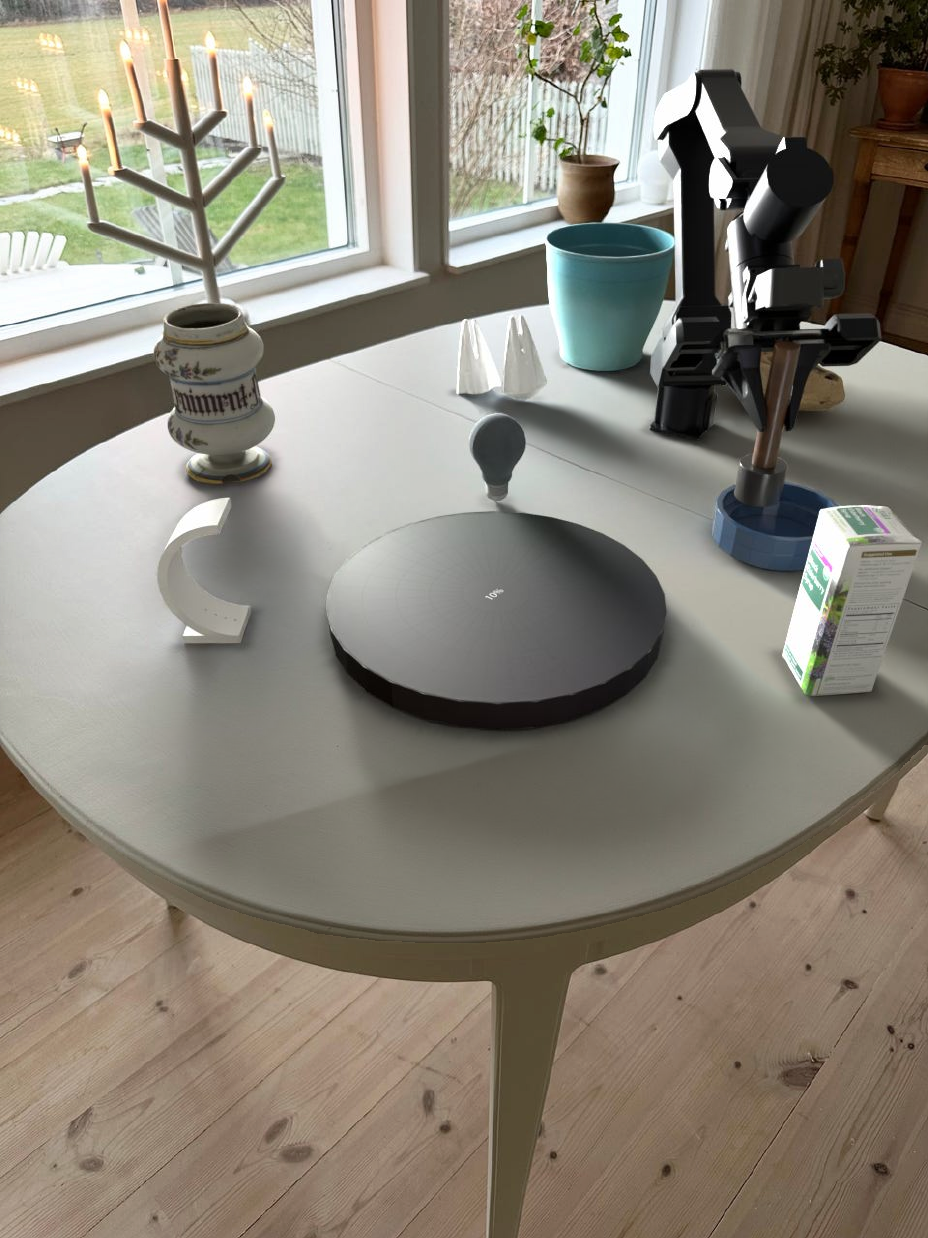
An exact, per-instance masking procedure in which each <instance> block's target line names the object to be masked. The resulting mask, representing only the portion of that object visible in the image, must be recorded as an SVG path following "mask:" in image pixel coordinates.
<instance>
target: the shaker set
mask: <svg viewBox="0 0 928 1238" xmlns="http://www.w3.org/2000/svg"><path fill="white" fill-rule="evenodd" d="M518 320H519V321H518V322H519V329H518V325H517V319H516V316H515V315H510V316H509V319H508V325H507V331H506V339H505V350H504V357H503V361H504V362H503V371H502V381H501V379H500V375H499V373H498V372H499V371H497V367H496V365H495V363H494V360H493V358H492V354H491V352H490V349H489V347H488V344H487V342H486V340H485V336H484V334H483V332H482V330H481V328H480V325H479V323H478V321H477V320H476V319H475V318H472V320H471V325H472V331H473V337H474V346H473V340H472V339H473V338H472V334H471V329H470V324H469V320H468V319H467V318H466V319H463V320H462V323H461V331H460V338H459V339H460V340H459V350H458V366H457V383H456V394H457V395H459V394H468V395H481V394H484V393H488V392H490V391H492V389H494V388H495V387H501V393H502V394H505V395H508V396H510V397H513V398H514V399H516V400H518V401H527V400H531V399H533V398H534V397H536V395H538V394H539V393H540V392H541V391H542V389H543V388H544V387H545V386H547V384H548V379H547V376H546V374H545V371H544V368H543V365H542V362H541V358H540V355H539V353H538V351H537V348H536V345H535V341H534V339H533V337H532V334H531V330H530V328H529V325H528V324H527V320H526V319H525V317H524V316H523V315H521V314H520V315H519V318H518Z"/></svg>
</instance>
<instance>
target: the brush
mask: <svg viewBox="0 0 928 1238" xmlns="http://www.w3.org/2000/svg"><path fill="white" fill-rule="evenodd" d="M800 348H801V346H800V345H799V344H797V343H795V342H790V341H780V342H776V343H775V345H774V350H773V355H772V361H771V366H770V371H769V376H768V381H767V386H766V391H765V397H764V399H765V405H766V413H767V428H766V430H765V431H764V432H759V431H758V430H757V433H756V438H755V443H754V448H753V453H749V454H746V455H744V456H742V457H741V458H740V459H739V464H738V469H737V470H738V471H737V475H736V479H735V484H736V485H735V484H734V485H735V490H734V495H735V497H736V498H737V499H738V500H739V501H741V502H742V503H745V504H747V505H751V506H757V507H768V506H773V505H775V504H777V503H778V502H779V501H780V499H781V495H782V490H783V486H784V481H785V482H786V477H787V472H788V464H787V462H786V461H785V460H784V459H782V458H780V457H778V456H779V452H780V451H779V450H780V446H781V443H782V437H783V432H784V429H785V425H784V423H785V419H786V414H787V409H788V404H789V400H790V395H791V390H792V385H793V381H794V376H795V371H796V367H797V362H798V357H799V352H800Z"/></svg>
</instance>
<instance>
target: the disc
mask: <svg viewBox="0 0 928 1238" xmlns="http://www.w3.org/2000/svg"><path fill="white" fill-rule="evenodd" d="M666 601H667V600H666V594H665V591H664V588H663V587H662V585H661V583H660V581H659V578H658V576H657V575H656V574H655V573H654V571H653V570H652V569H651V568H650V566H649V565H648V564H647V563H646V562H645V560H644V559H642V558H641V557H640V556H639V555H637V553H635V552H634V551H632V550H631V549H630V548H629V547H627V546H626V545H624V544H623V543H622V542H619V541H617V540H615V539H614V538H612V537H610V536H608V535H606V534H605V533H603V532H600V531H597V530H595V529H592V528H589V527H588V526H585V525H582V524H579V523H577V522H573V521H569V520H568V521H567V520H565V519H560V518H557V517H553V516H548V515H541V514H534V513H526V512H520V511H519V512H518V511H517V512H516V511H496V510H491V511H490V510H488V511H487V510H486V511H467V512H466V511H465V512H459V513H452V514H445V515H438V516H437V515H436V516H434V517H430V518H425V519H421V520H418V521H414V522H410V523H408V524H405V525H403V526H400V527H397V528H395V529H391V530H390V531H387V532H384V533H383V534H381V535H379V536H378V537H376V538H374V539H372V540H370V541H369V542H367V543H365V544H364V545H362V546H361V547H360V548H359V549H358V550H356V551H355V552H354V553H353V554H351V555H350V556H349V557H347V559H346V560H345V561H344V562H343V564H341V566H340V567H339V569H338V570H337V571H336V572H335V574H334V575H333V578H332V580H331V583H330V584H329V587H328V589H327V592H326V604H325V613H326V618H327V620H328V626H329V635H330V640H331V644H332V647H333V650H334V655H335V657H336V658H337V660H338V661H339V663H340V665H341V666H342V668H343V670H344V671H345V672H346V674H347V675H348V676H349V677H350V678H351V679H352V680H353V681H354V682H355V683H356V684H358V685H359V686H360V687H361V688H362V689H363V690H364V691H365V692H366V693H367V694H369V695H371V696H372V697H374V698H376V699H377V700H379V701H380V702H382V703H385V704H386V705H388V706H390V707H391V708H393V709H396V710H398V711H401V712H403V713H407V714H409V715H411V716H414V717H416V718H419V719H422V720H425V721H430V722H433V723H439V724H443V725H447V726H452V727H458V728H464V729H465V728H466V729H477V730H478V729H479V730H490V731H491V730H492V731H503V730H520V729H537V728H542V727H545V726H550V725H555V724H561V723H566V722H571V721H574V720H576V719H579V718H581V717H583V716H584V717H585V716H587V715H590V714H592V713H595V712H598V711H601V710H602V709H604V708H606V707H608V706H610V705H611V704H613V703H614V702H615V703H616V701H618V700H620V699H622V698H623V697H625V696H627V695H628V694H629V693H630V692H631V691H632V690H633V689H635V688H636V687H637V686H638V685H639V684H640V683H641V682H642V681H643V680H644V679H646V677H647V676H648V674H649V673H650V671H651V670H652V668H653V666H654V665H655V663H656V662H657V660H658V659H659V658H658V657H659V655H660V650H661V647H662V642H663V637H664V631H665V625H666V618H667V613H668V612H667V610H668V609H667V602H666Z"/></svg>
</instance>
